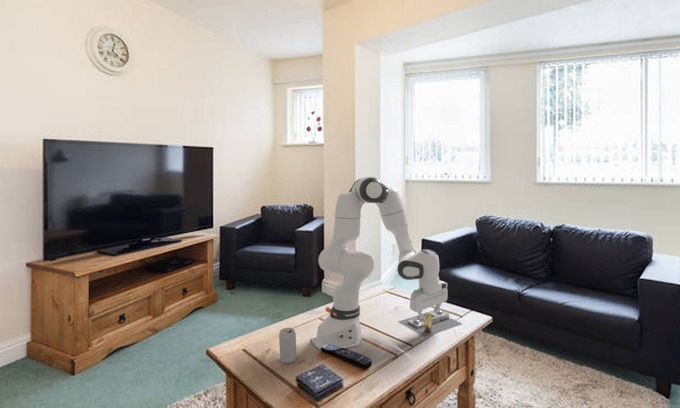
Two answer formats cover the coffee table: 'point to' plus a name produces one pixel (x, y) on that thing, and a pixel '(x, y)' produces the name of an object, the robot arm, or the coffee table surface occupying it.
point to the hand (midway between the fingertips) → (428, 315)
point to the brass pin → (428, 322)
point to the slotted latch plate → (435, 318)
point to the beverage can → (287, 345)
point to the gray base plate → (435, 327)
